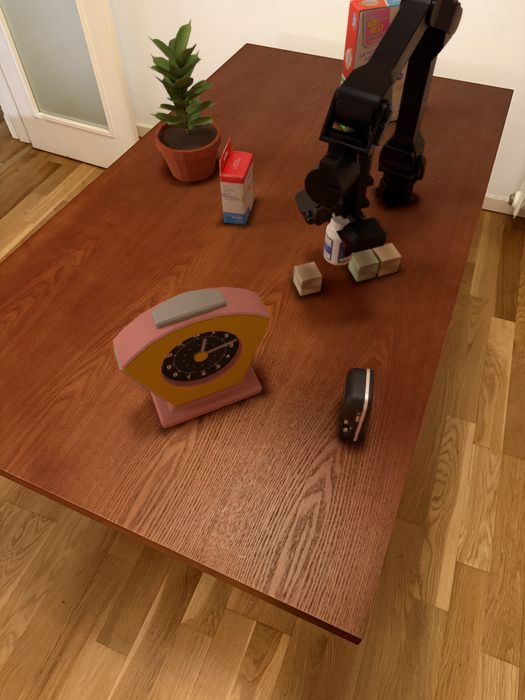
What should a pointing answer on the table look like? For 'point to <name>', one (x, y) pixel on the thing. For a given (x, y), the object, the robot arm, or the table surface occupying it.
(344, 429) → the battery charger
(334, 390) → the table surface
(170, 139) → the potted plant
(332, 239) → the pill bottle
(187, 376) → the toy desk clock
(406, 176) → the robot arm
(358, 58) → the game box
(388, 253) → the block line
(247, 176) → the ink box
